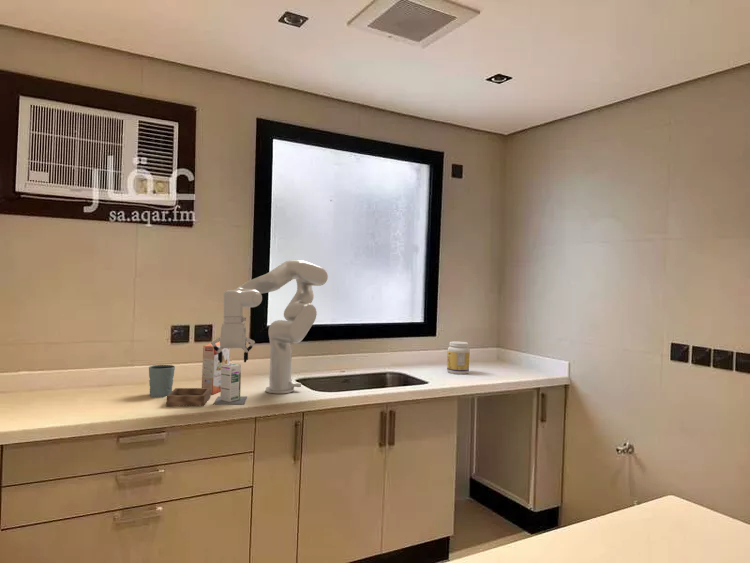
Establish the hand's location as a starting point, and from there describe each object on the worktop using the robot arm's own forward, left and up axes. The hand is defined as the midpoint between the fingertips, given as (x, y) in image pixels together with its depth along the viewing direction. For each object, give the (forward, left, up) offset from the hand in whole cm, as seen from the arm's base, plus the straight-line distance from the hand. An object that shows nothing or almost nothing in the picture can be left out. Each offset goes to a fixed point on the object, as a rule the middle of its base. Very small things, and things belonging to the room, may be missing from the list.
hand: (233, 362), depth 212 cm
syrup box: (+1, 0, -16) cm, 16 cm away
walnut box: (+17, +2, -16) cm, 23 cm away
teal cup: (+31, -10, -16) cm, 36 cm away
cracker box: (+10, -17, -16) cm, 26 cm away
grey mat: (+1, +1, -16) cm, 16 cm away
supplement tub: (-114, -62, -16) cm, 131 cm away
